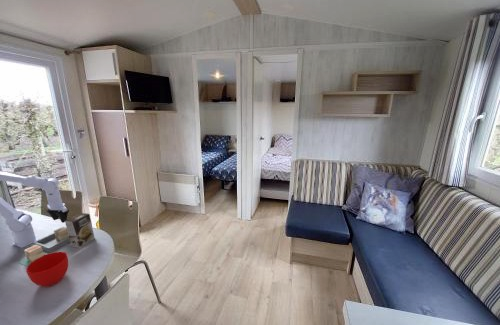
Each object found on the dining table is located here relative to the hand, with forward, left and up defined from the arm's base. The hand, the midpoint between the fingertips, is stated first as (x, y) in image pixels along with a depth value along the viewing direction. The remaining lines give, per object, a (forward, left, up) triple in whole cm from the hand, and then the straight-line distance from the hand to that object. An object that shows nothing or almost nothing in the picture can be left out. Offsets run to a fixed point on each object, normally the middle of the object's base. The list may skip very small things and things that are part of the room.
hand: (60, 220), depth 124 cm
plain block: (+5, -3, -9) cm, 11 cm away
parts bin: (+5, -6, -9) cm, 12 cm away
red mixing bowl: (+33, -23, -10) cm, 41 cm away
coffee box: (+19, -1, -10) cm, 21 cm away
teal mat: (+11, -18, -9) cm, 23 cm away
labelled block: (+11, -18, -9) cm, 23 cm away
